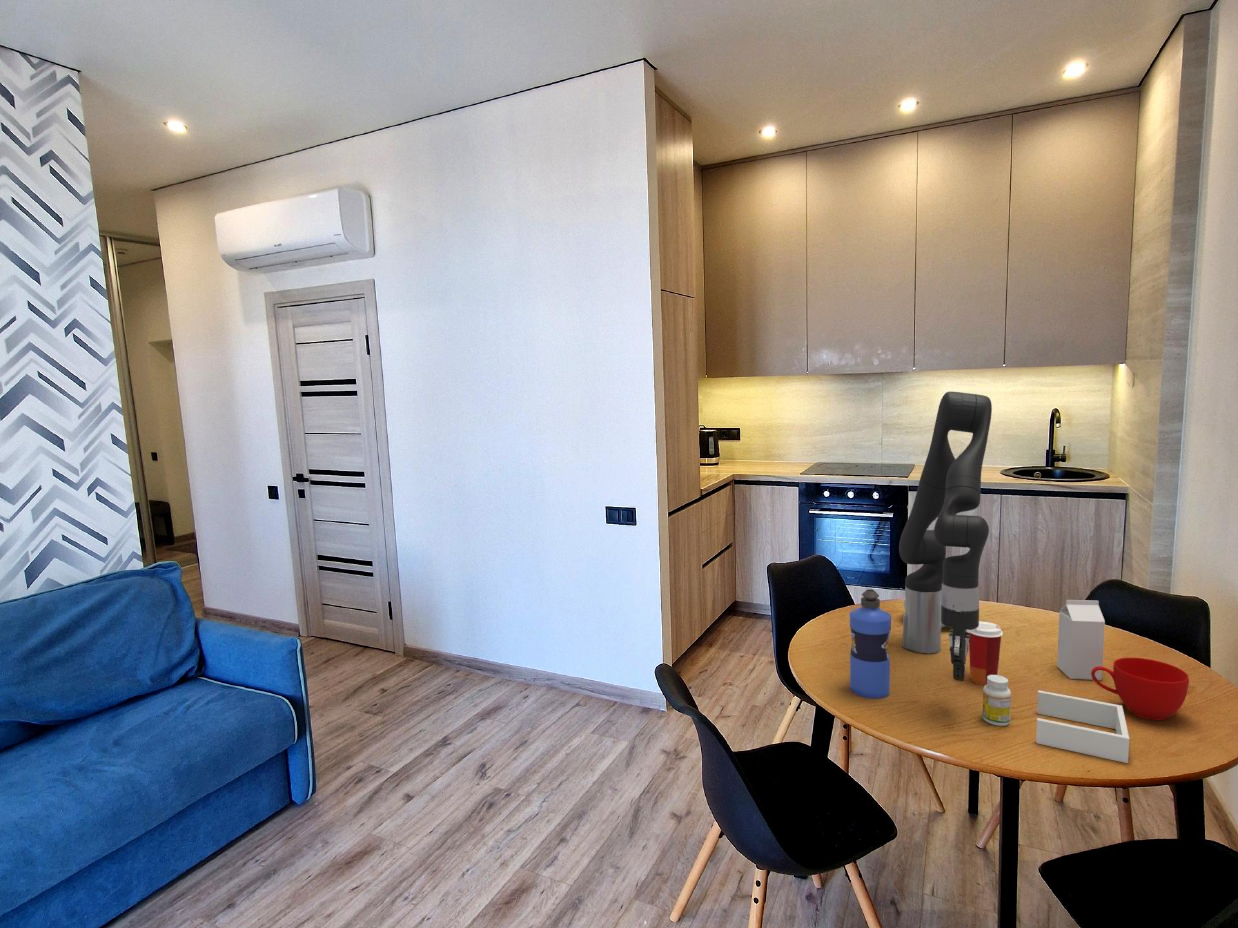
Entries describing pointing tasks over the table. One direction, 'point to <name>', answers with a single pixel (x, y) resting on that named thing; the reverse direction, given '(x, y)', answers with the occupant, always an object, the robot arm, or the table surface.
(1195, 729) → the table surface
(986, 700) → the supplement bottle
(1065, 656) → the milk carton
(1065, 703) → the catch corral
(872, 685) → the water bottle
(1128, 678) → the ceramic cup
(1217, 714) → the table surface
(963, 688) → the table surface
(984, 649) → the paper cup
